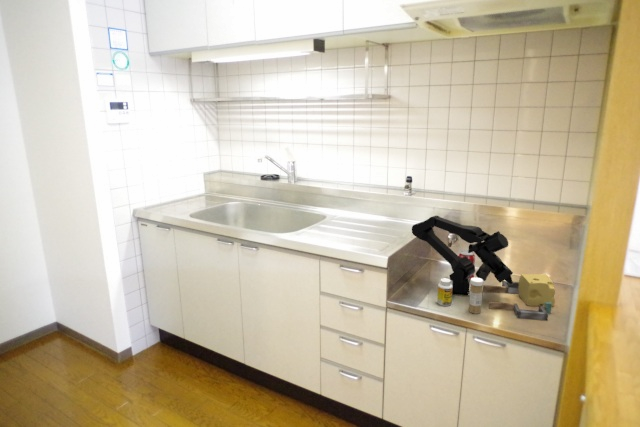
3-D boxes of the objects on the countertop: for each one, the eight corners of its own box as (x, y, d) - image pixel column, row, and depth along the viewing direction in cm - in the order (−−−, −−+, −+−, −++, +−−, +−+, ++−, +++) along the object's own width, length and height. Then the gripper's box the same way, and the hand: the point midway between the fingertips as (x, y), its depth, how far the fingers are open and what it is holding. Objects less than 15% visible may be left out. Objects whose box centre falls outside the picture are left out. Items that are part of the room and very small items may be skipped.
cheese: (554, 307, 166) (557, 283, 164) (525, 306, 167) (528, 282, 165) (543, 295, 176) (546, 273, 174) (516, 295, 177) (519, 272, 175)
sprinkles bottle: (478, 308, 166) (480, 276, 163) (482, 314, 162) (485, 281, 158) (466, 308, 166) (468, 276, 163) (470, 314, 162) (472, 281, 159)
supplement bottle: (443, 307, 167) (444, 283, 165) (434, 302, 172) (435, 278, 170) (454, 304, 170) (456, 281, 167) (445, 299, 175) (446, 276, 172)
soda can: (475, 282, 191) (477, 255, 188) (459, 282, 191) (461, 255, 188) (470, 276, 198) (472, 249, 194) (455, 276, 198) (456, 250, 195)
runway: (492, 315, 160) (492, 306, 159) (480, 284, 188) (481, 276, 187) (555, 321, 155) (556, 311, 154) (534, 288, 183) (535, 279, 182)
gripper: (465, 260, 181) (489, 286, 182) (475, 275, 163) (501, 304, 164) (486, 243, 178) (510, 270, 179) (499, 257, 160) (525, 287, 161)
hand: (511, 283), depth 171 cm, fingers closed
